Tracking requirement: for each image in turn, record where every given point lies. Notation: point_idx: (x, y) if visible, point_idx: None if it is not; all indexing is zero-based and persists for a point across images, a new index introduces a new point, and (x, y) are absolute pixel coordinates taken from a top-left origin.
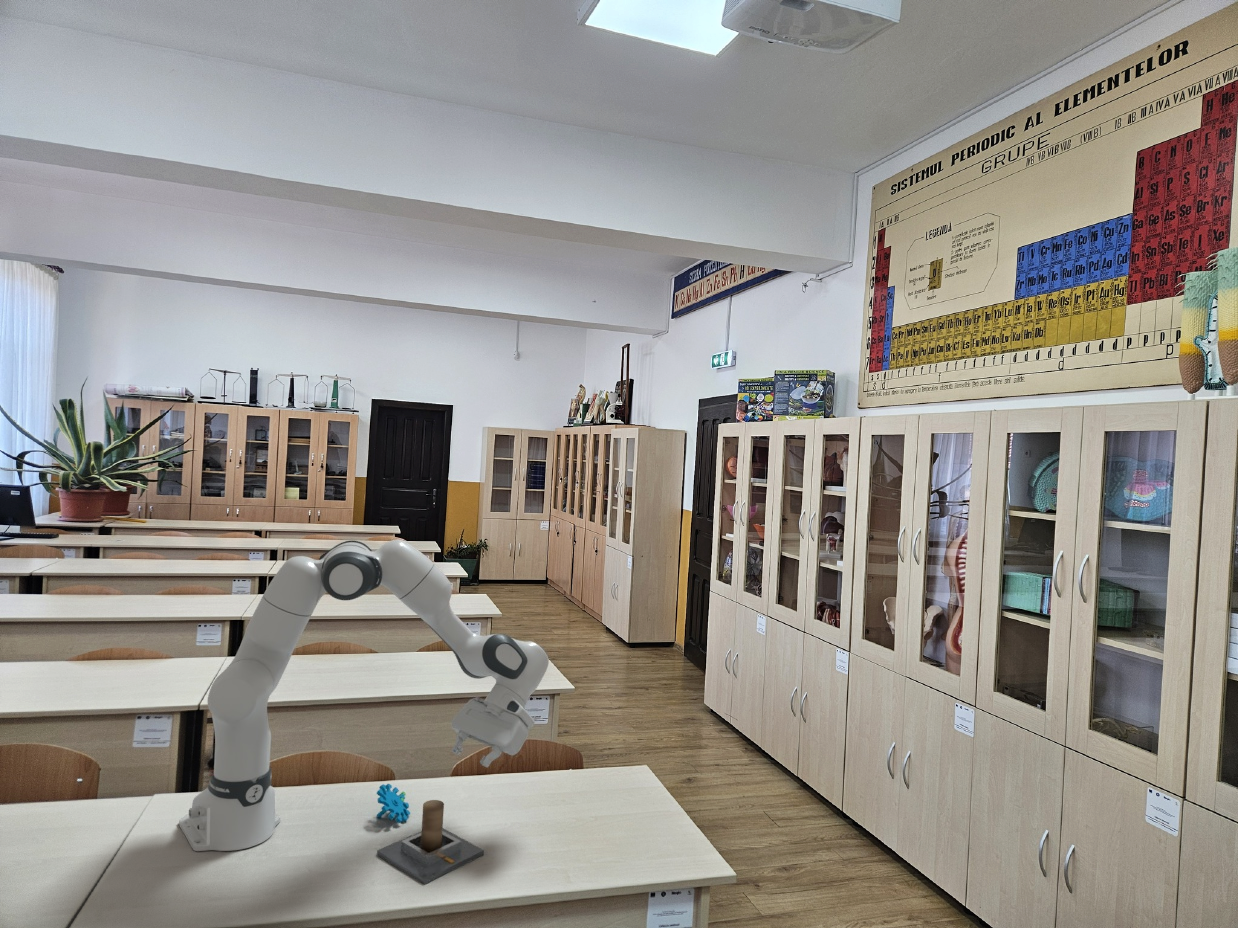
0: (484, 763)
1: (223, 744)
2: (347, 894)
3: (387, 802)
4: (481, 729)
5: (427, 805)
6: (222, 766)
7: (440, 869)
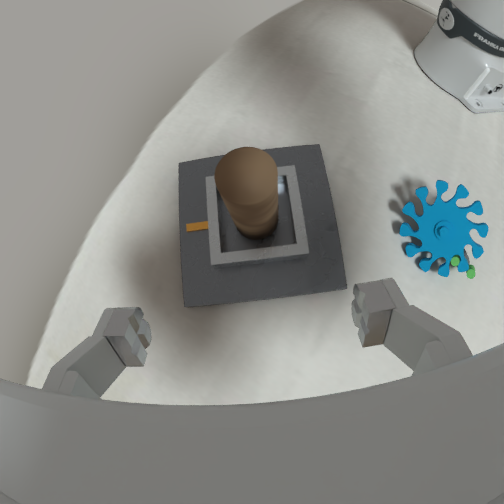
0: (106, 310)
1: None
2: (238, 82)
3: (437, 203)
4: (229, 473)
5: (252, 158)
6: None
7: (184, 198)
